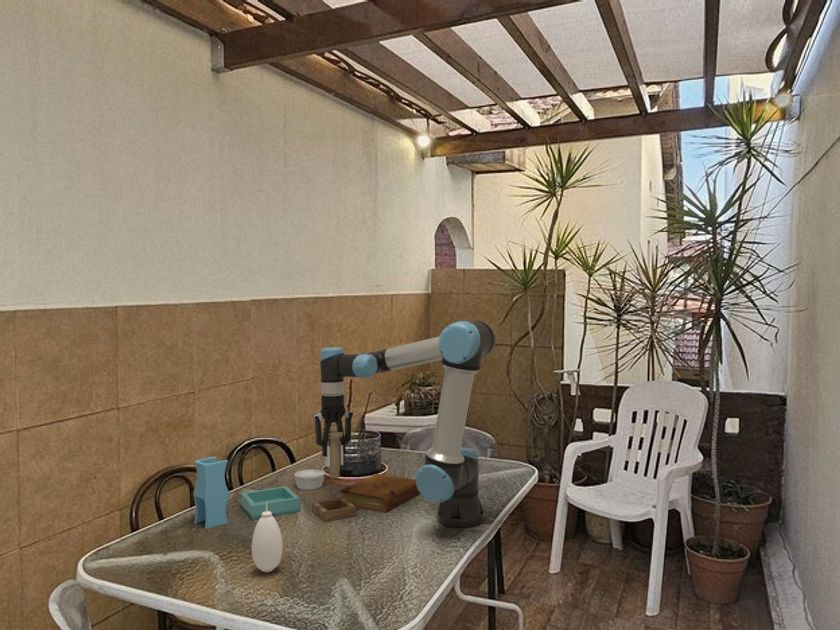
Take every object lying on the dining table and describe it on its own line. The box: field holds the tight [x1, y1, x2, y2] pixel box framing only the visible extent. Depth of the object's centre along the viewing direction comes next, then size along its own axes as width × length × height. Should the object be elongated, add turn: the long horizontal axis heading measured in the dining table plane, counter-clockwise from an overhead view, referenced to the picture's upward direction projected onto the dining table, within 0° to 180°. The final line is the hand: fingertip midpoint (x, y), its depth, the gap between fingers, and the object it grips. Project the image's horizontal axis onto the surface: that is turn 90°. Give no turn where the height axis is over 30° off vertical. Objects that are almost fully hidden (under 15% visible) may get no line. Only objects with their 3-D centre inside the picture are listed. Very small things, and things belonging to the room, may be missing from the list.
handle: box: [327, 430, 343, 479], centre depth 206 cm, size 5×6×15 cm
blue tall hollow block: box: [192, 456, 230, 530], centre depth 199 cm, size 8×8×20 cm
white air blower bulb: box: [251, 502, 284, 573], centre depth 163 cm, size 8×8×18 cm
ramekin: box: [293, 469, 325, 491], centre depth 238 cm, size 11×11×5 cm
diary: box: [339, 473, 421, 514], centre depth 221 cm, size 23×19×6 cm
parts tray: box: [240, 485, 301, 521], centre depth 212 cm, size 16×16×4 cm
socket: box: [311, 496, 358, 523], centre depth 206 cm, size 12×11×3 cm
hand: (334, 464), depth 206 cm, fingers closed on handle, 4 cm apart
